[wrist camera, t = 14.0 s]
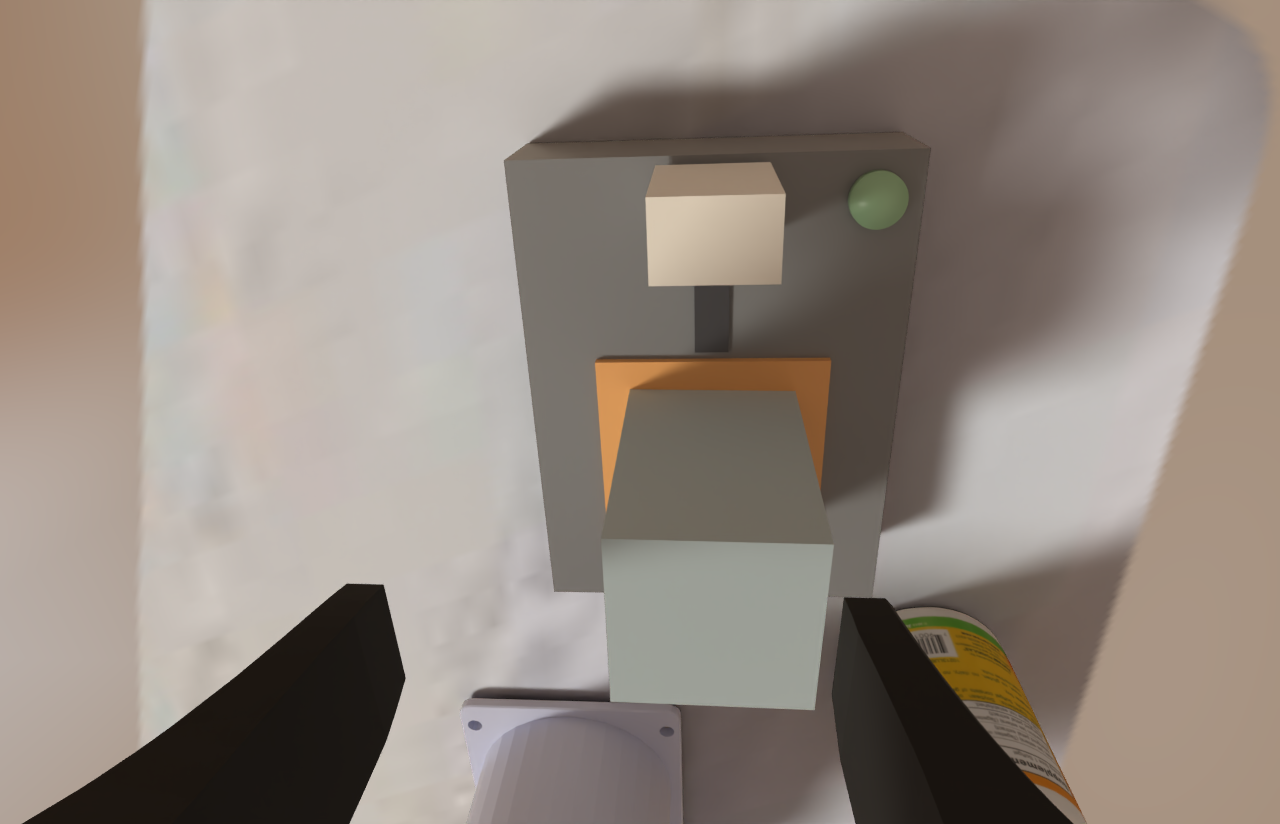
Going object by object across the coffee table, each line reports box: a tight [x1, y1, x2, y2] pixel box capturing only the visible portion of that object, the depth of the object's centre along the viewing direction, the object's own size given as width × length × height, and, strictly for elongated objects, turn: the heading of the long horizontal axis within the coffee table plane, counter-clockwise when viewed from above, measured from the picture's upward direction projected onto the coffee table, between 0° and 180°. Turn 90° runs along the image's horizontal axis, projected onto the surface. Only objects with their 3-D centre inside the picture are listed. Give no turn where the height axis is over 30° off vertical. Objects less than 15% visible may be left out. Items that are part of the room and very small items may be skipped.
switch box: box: [504, 132, 931, 597], centre depth 20 cm, size 12×9×3 cm
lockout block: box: [601, 389, 834, 710], centre depth 17 cm, size 4×4×6 cm
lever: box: [645, 162, 786, 286], centre depth 15 cm, size 2×2×3 cm
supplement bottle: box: [896, 607, 1087, 824], centre depth 21 cm, size 5×5×10 cm
